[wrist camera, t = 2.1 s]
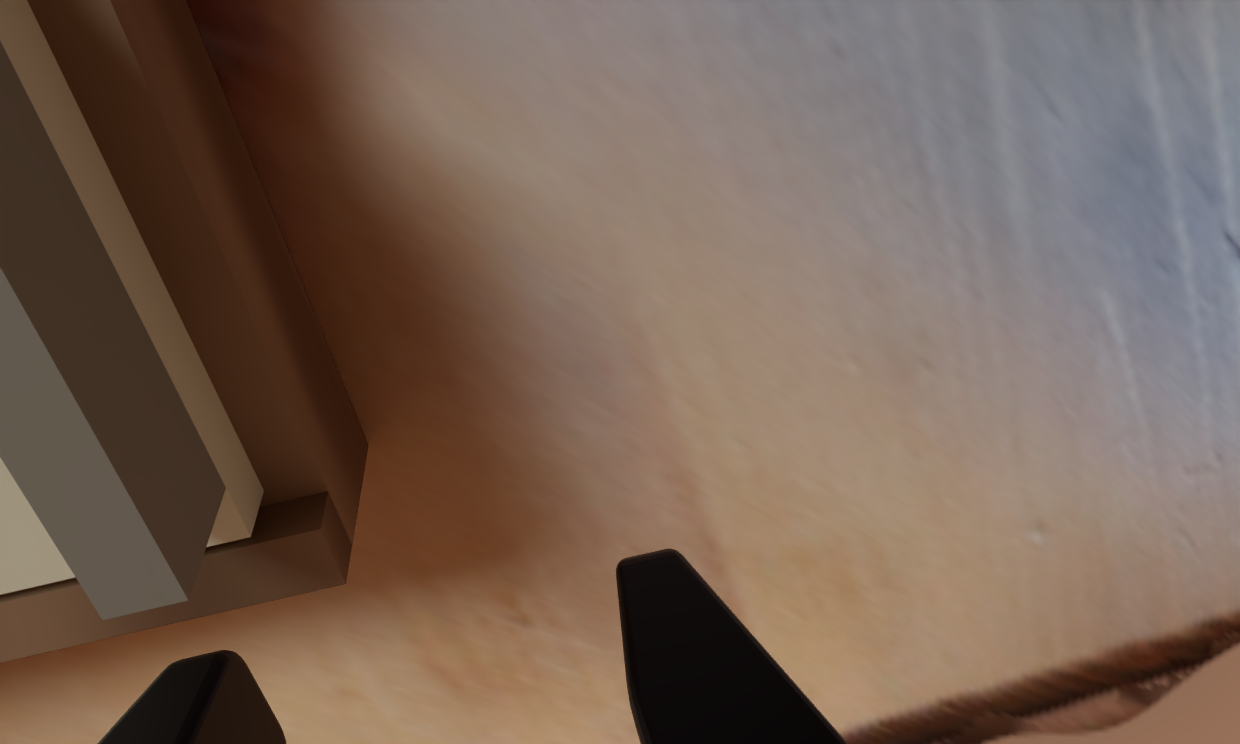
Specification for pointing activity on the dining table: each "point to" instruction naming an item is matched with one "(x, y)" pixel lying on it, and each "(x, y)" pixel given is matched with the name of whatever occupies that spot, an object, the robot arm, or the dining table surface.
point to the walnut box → (208, 316)
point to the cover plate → (96, 370)
